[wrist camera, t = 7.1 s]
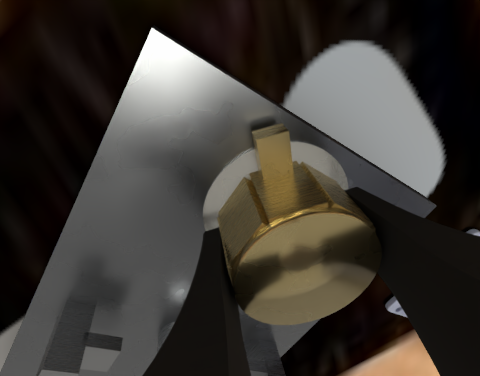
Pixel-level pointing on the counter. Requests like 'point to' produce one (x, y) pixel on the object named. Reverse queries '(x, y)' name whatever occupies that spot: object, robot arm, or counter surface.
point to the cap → (294, 238)
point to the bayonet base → (166, 218)
